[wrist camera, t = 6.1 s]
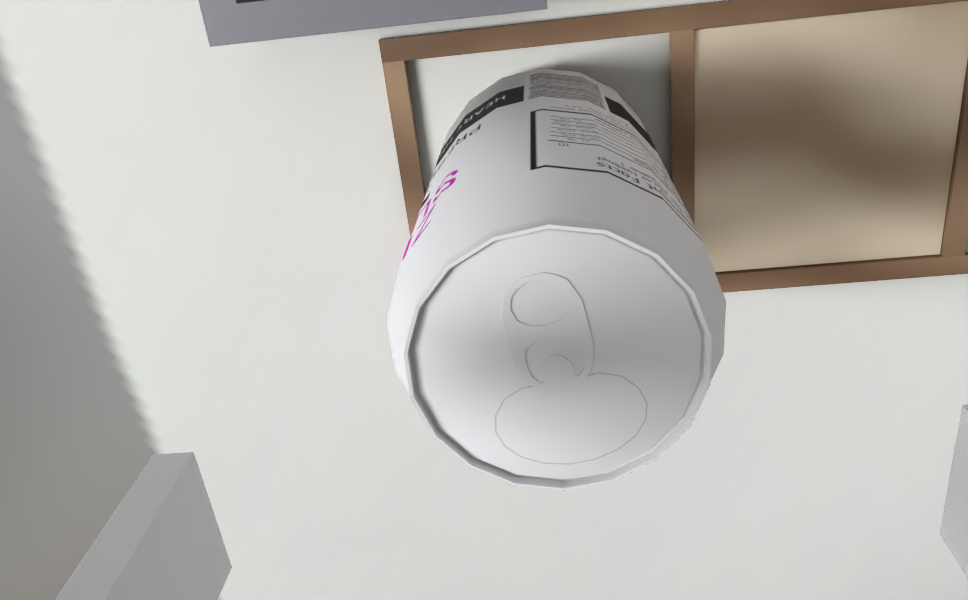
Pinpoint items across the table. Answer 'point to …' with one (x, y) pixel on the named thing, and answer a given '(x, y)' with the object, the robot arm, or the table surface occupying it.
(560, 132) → the supplement can
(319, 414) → the table surface
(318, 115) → the table surface
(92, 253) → the table surface
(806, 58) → the frame
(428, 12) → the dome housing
